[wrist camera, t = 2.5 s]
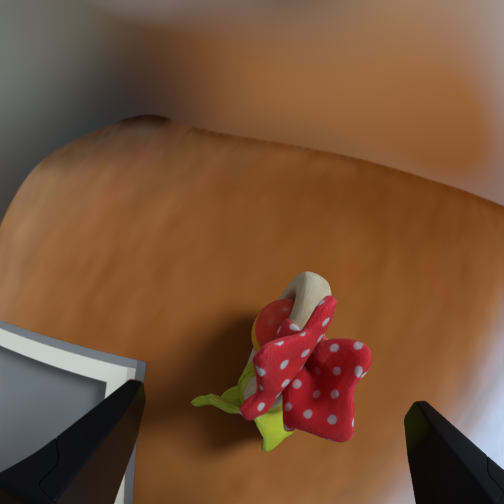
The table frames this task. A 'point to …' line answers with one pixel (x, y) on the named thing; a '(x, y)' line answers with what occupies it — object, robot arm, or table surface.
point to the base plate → (54, 392)
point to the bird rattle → (297, 369)
